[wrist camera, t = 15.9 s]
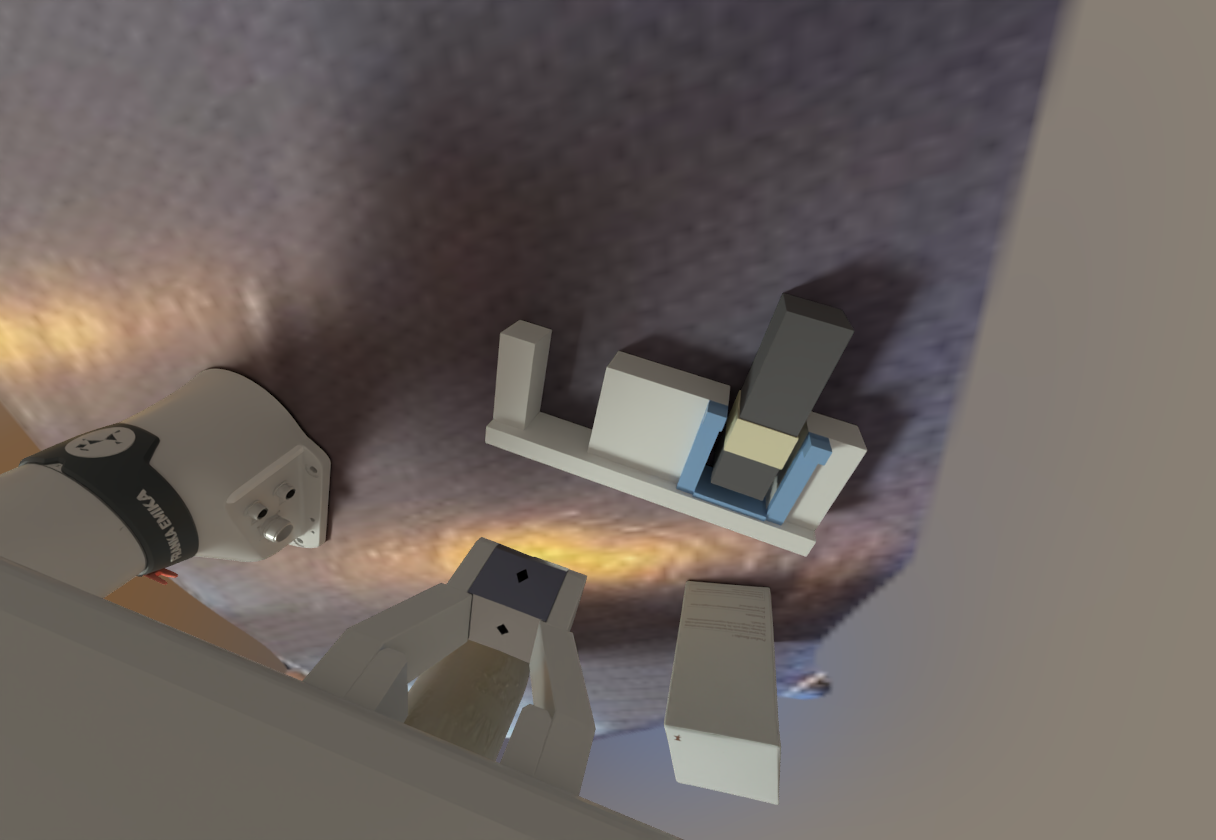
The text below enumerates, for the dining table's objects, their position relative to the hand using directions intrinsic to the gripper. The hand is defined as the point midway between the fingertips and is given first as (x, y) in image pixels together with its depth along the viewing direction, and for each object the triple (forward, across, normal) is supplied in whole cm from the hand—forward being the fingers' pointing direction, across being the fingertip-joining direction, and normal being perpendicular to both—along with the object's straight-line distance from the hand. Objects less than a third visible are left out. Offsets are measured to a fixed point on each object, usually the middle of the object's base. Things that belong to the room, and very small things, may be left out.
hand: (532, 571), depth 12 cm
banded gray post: (+21, -8, +2) cm, 23 cm away
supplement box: (+22, -14, +23) cm, 34 cm away
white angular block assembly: (+21, -2, +6) cm, 22 cm away
